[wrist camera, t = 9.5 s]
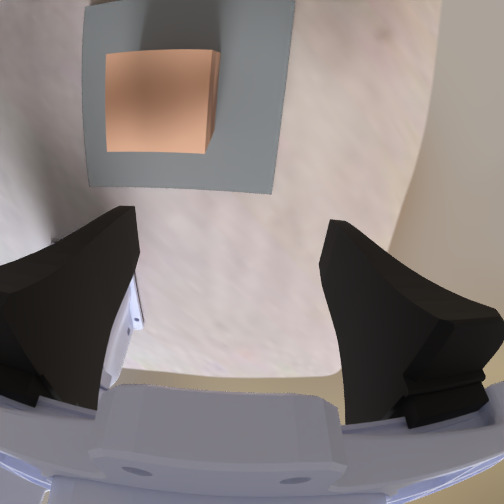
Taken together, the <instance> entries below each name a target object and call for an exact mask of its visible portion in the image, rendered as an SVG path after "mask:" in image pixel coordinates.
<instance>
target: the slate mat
mask: <svg viewBox="0 0 504 504" xmlns="http://www.w3.org/2000/svg"><path fill="white" fill-rule="evenodd" d="M294 9H295V1H293V0H120V1H114V2H108V3H102V4H97V5H92V6H87V7H85V15H84V27H83V45H82V109H83V128H84V141H85V153H86V163H87V172H88V180H89V187H150V188H177V189H198V190H216V191H232V192H246V193H259V194H271V195H272V187H273V180H274V172H275V164H276V157H277V149H278V141H279V133H280V125H281V117H282V109H283V101H284V93H285V85H286V77H287V68H288V60H289V52H290V43H291V35H292V26H293V17H294ZM170 49H202V50H214V51H217V52H220V53H221V58H220V68H219V79H218V91H217V103H216V117H215V131H214V133H213V135H212V138H211V140H210V143H209V145H208V147H207V150H206V152H205V154H199V153H176V152H107V142H106V117H105V70H106V54H110V53H120V52H131V51H146V50H170Z"/></svg>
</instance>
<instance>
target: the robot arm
mask: <svg viewBox="0 0 504 504" xmlns="http://www.w3.org/2000/svg"><path fill="white" fill-rule="evenodd" d="M139 254H140V248H139V240H138V232H137V222H136V213H135V206H118V207H116V208H114V209H112V210H110V211H108V212H107V213H105V214H103V215H102V216H100V217H98V218H97V219H95V220H93V221H92V222H90V223H89V224H87V225H85V226H84V227H82V228H80V229H79V230H77V231H75V232H73V233H72V234H70V235H68V236H67V237H65V238H63V239H61V240H60V241H58V242H56V243H51V245H50V246H48V247H46V248H44V249H42V250H40V251H37V252H35V253H33V254H30V255H28V256H25V257H23V258H21V259H18V260H16V261H13V262H10V263H7V264H4V265H1V266H0V504H41V502H42V499H43V497H44V494H45V492H47V491H50V494H49V499H48V504H403V503H406V502H409V501H412V500H415V499H418V498H421V497H424V496H426V495H429V494H432V493H434V492H437V491H439V490H442V489H444V488H447V487H449V486H452V485H454V484H456V483H459V482H461V481H463V480H465V479H468V478H470V477H472V476H474V475H476V474H478V473H480V472H482V471H484V470H487V469H489V468H490V467H492V466H493V465H495V464H497V463H498V462H500V461H501V460H503V459H504V381H501V382H498V383H495V384H492V385H490V386H489V387H487V388H486V389H484V387H483V385H482V381H484V380H485V374H484V372H483V370H482V369H483V368H484V366H485V365H486V364H487V363H488V362H489V360H490V359H491V358H492V357H493V356H494V354H495V353H496V352H497V350H498V349H499V348H500V346H501V345H502V343H503V341H504V320H503V319H502V317H501V316H500V314H499V313H498V311H497V310H496V309H494V308H491V307H489V306H486V305H483V304H480V303H477V302H474V301H471V300H469V299H467V298H464V297H462V296H459V295H457V294H455V293H453V292H451V291H449V290H446V289H444V288H442V287H440V286H439V285H437V284H435V283H433V282H431V281H429V280H428V279H426V278H424V277H422V276H421V275H419V274H418V273H416V272H414V271H413V270H411V269H409V268H408V267H407V266H405V265H404V264H402V263H401V262H399V261H398V260H397V259H395V258H394V257H392V256H391V255H390V254H388V253H387V252H386V251H384V250H383V249H382V248H381V247H379V246H378V245H377V244H376V243H374V242H373V241H372V240H371V239H369V238H368V237H367V236H366V235H364V234H363V233H362V232H361V231H359V230H358V229H357V228H355V227H354V226H353V225H351V224H350V223H348V222H346V221H341V220H331V219H330V222H329V226H328V230H327V234H326V238H325V242H324V246H323V250H322V254H321V257H320V261H319V269H320V276H321V282H322V287H323V291H324V294H325V298H326V301H327V304H328V308H329V311H330V314H331V318H332V321H333V324H334V328H335V331H336V335H337V340H338V345H339V351H340V358H341V365H342V374H343V384H344V397H345V422H346V423H345V425H341V424H340V419H339V414H338V408H337V407H336V406H334V405H332V404H331V403H329V402H327V401H326V400H324V399H322V398H320V397H318V396H313V395H303V394H295V393H244V392H224V391H208V390H196V389H185V388H175V387H165V386H157V385H150V384H121V385H118V386H115V387H113V388H112V389H109V388H110V387H111V386H112V385H113V384H114V383H115V382H116V380H117V379H118V377H119V375H120V373H121V369H122V366H123V362H124V359H125V355H126V352H127V349H128V345H129V342H130V339H131V335H132V332H133V329H137V330H141V329H143V327H144V323H143V318H142V313H141V308H140V303H139V298H138V293H137V287H136V282H135V276H134V272H135V269H136V265H137V262H138V258H139Z"/></svg>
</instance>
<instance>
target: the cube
mask: <svg viewBox="0 0 504 504" xmlns="http://www.w3.org/2000/svg"><path fill="white" fill-rule="evenodd" d="M220 58H221V53H220V52H217V51H214V50H202V49H170V50H146V51H131V52H120V53H110V54H106V70H105V117H106V142H107V152H176V153H199V154H205V152H206V150H207V147H208V145H209V143H210V140H211V138H212V135H213V133H214V131H215V117H216V103H217V91H218V79H219V68H220Z"/></svg>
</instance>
